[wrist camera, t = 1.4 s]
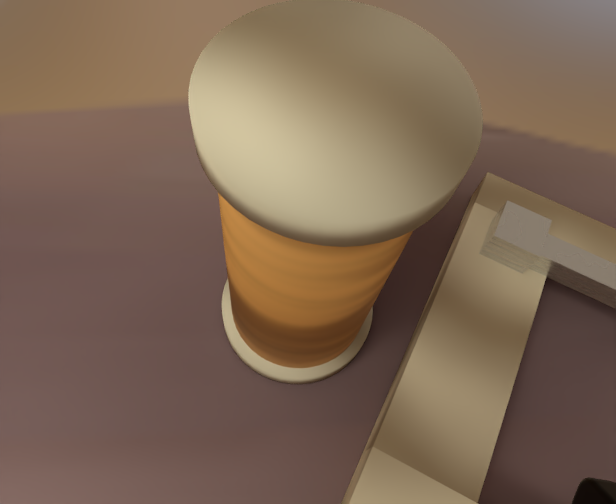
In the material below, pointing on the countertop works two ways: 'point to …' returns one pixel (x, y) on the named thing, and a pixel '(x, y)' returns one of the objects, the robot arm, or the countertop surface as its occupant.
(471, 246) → the rectangular frame
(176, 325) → the countertop surface
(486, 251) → the cross bar
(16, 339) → the countertop surface
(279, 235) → the cord reel
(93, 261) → the countertop surface
